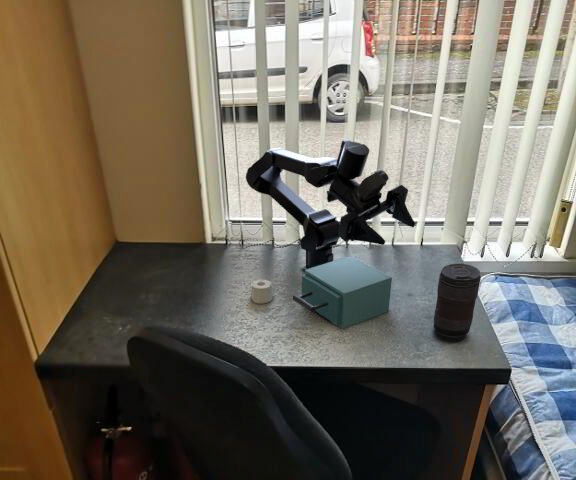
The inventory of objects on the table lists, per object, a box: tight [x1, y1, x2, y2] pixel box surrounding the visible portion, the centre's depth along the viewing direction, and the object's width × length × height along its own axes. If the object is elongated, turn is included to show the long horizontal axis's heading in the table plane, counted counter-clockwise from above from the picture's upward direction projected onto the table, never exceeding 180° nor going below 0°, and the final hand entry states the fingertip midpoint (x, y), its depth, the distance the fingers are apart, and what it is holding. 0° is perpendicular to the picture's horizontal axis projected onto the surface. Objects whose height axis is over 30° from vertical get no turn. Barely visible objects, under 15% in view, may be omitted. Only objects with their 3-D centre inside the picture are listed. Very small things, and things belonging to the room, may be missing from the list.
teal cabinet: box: [304, 255, 393, 329], centre depth 132 cm, size 14×15×9 cm
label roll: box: [250, 279, 273, 305], centre depth 137 cm, size 5×5×4 cm
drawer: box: [291, 274, 342, 326], centre depth 130 cm, size 17×13×7 cm
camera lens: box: [433, 263, 482, 344], centre depth 119 cm, size 8×8×15 cm
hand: (399, 234), depth 126 cm, fingers open, 9 cm apart
